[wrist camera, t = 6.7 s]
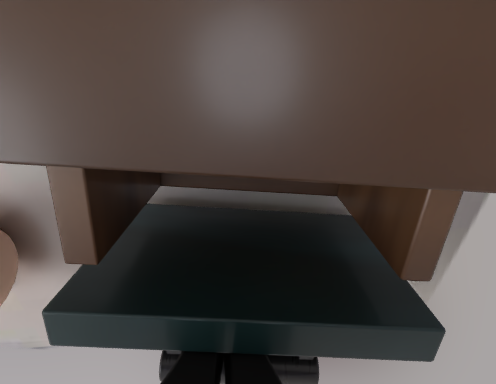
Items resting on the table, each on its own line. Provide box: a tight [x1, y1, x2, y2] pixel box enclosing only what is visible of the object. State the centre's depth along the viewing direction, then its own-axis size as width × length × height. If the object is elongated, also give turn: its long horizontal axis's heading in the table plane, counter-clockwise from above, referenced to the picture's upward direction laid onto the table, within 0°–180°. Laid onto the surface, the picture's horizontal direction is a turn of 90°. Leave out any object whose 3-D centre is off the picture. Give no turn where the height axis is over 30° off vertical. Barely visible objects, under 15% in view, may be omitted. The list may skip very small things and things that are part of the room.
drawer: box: [42, 166, 463, 384], centre depth 9 cm, size 17×10×7 cm, turn 176°
